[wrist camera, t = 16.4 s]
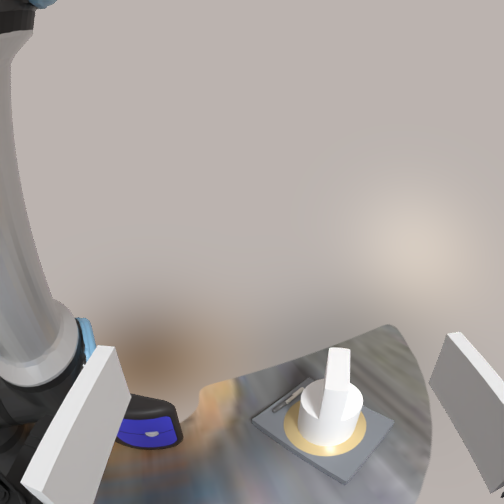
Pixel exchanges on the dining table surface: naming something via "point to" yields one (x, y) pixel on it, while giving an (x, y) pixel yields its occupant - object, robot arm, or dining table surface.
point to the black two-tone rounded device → (149, 424)
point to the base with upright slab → (330, 403)
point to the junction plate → (323, 457)
